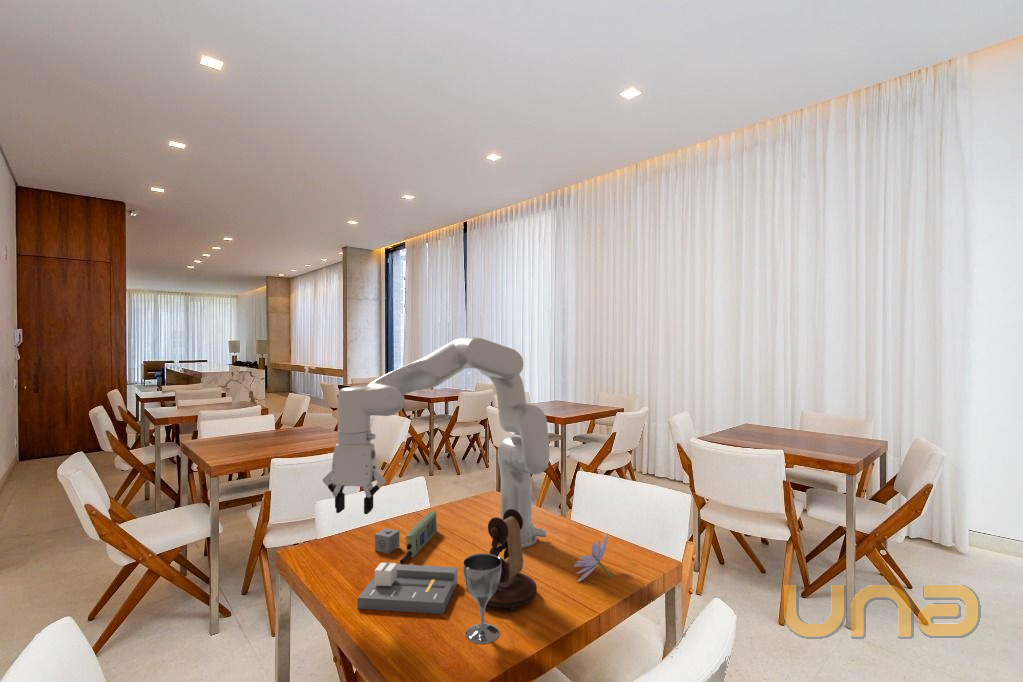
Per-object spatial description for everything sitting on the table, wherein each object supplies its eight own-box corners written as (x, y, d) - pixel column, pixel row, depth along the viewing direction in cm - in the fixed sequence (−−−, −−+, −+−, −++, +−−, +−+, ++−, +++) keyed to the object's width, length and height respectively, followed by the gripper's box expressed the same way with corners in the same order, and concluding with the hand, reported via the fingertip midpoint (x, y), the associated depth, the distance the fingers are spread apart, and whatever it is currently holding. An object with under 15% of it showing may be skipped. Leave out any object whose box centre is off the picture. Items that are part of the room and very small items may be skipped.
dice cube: (389, 554, 140) (389, 536, 140) (374, 551, 142) (374, 534, 142) (399, 547, 144) (399, 530, 144) (385, 544, 146) (385, 528, 146)
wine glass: (463, 623, 105) (463, 554, 105) (500, 621, 106) (500, 552, 106) (463, 646, 97) (463, 571, 97) (502, 644, 98) (502, 569, 98)
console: (457, 583, 123) (457, 567, 123) (443, 614, 109) (443, 596, 109) (380, 578, 125) (380, 563, 125) (357, 608, 111) (357, 591, 111)
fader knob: (396, 577, 119) (396, 562, 119) (390, 586, 115) (390, 570, 115) (381, 577, 120) (381, 561, 120) (374, 585, 116) (374, 569, 116)
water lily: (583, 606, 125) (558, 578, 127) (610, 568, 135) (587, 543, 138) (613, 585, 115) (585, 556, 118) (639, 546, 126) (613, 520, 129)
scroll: (516, 621, 106) (515, 529, 106) (462, 602, 114) (462, 516, 114) (547, 591, 119) (547, 509, 119) (497, 576, 126) (497, 499, 126)
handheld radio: (438, 532, 156) (408, 567, 132) (428, 531, 157) (396, 566, 132) (437, 511, 156) (407, 542, 132) (428, 510, 157) (395, 542, 133)
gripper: (393, 436, 121) (393, 507, 121) (327, 434, 123) (327, 505, 123) (382, 442, 114) (382, 518, 114) (312, 440, 116) (312, 515, 116)
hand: (354, 511), depth 119 cm, fingers open, 6 cm apart
